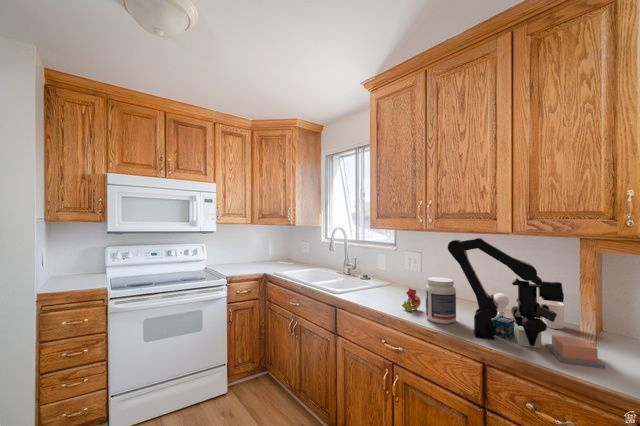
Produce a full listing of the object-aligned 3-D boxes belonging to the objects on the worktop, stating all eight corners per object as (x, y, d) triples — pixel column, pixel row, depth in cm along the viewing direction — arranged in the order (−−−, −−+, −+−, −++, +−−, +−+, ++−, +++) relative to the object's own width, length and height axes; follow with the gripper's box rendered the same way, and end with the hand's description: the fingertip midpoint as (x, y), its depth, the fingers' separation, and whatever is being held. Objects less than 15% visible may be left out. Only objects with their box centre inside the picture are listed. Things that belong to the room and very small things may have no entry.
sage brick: (518, 345, 109) (518, 329, 109) (515, 340, 113) (514, 325, 113) (541, 348, 106) (541, 332, 106) (536, 343, 111) (536, 327, 111)
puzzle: (498, 331, 122) (497, 316, 122) (514, 335, 118) (514, 320, 118) (491, 334, 119) (491, 319, 119) (508, 339, 114) (508, 323, 114)
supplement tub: (462, 322, 132) (462, 280, 133) (442, 326, 127) (442, 283, 127) (439, 314, 144) (438, 275, 144) (419, 318, 138) (419, 278, 138)
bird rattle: (411, 312, 154) (397, 306, 151) (419, 291, 155) (405, 285, 153) (419, 316, 148) (404, 310, 145) (427, 294, 149) (412, 288, 147)
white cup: (565, 326, 128) (564, 302, 128) (564, 331, 122) (563, 306, 122) (542, 322, 133) (542, 299, 134) (540, 326, 127) (540, 303, 128)
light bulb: (495, 318, 138) (495, 294, 138) (490, 314, 144) (490, 291, 145) (511, 319, 136) (511, 295, 137) (506, 315, 143) (505, 291, 143)
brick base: (561, 362, 95) (561, 346, 95) (546, 346, 107) (546, 332, 107) (605, 368, 91) (605, 352, 91) (584, 351, 104) (583, 336, 104)
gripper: (564, 307, 98) (565, 355, 98) (543, 294, 116) (544, 334, 116) (525, 304, 102) (525, 350, 102) (510, 291, 120) (511, 331, 119)
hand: (527, 340), depth 110 cm, fingers open, 9 cm apart
